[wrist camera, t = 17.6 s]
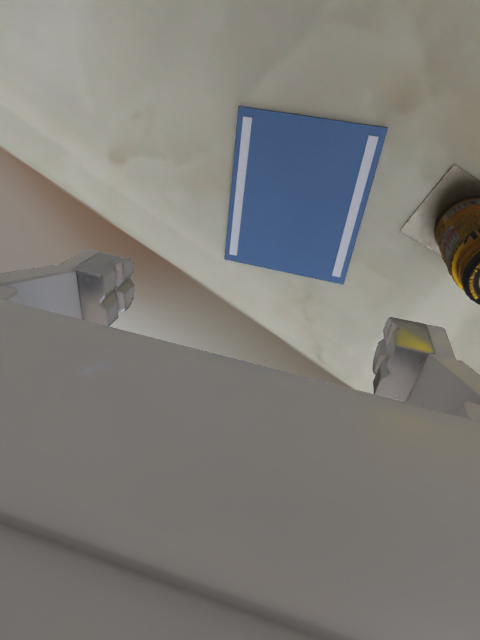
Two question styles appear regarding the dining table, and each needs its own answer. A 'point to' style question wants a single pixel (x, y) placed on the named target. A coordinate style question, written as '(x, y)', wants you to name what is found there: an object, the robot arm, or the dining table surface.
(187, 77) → the dining table surface
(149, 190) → the dining table surface
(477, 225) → the condiment
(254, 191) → the napkin
